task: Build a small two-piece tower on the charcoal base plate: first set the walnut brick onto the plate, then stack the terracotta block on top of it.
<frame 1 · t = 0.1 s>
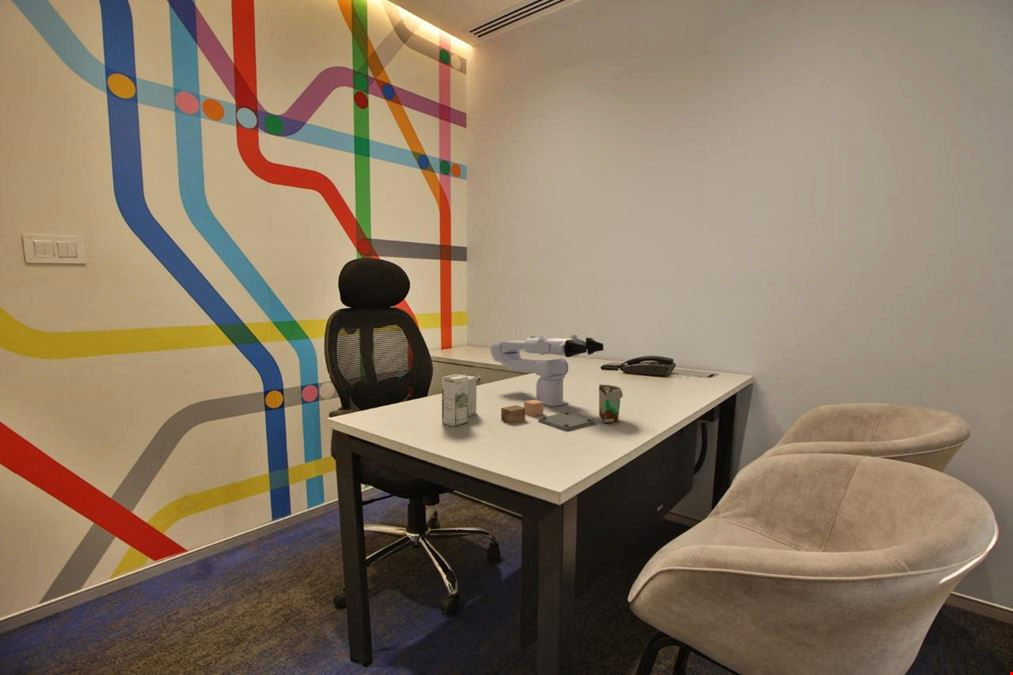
hand: (594, 348, 153), 22 cm above the table, tool horizontal, fingers open, 7 cm apart
base plate: (566, 422, 147), on the table
skincare box: (466, 415, 156), on the table
terracotta block: (533, 413, 158), on the table
walnut brick: (513, 420, 150), on the table
food container: (611, 420, 150), on the table
syrup box: (455, 423, 147), on the table
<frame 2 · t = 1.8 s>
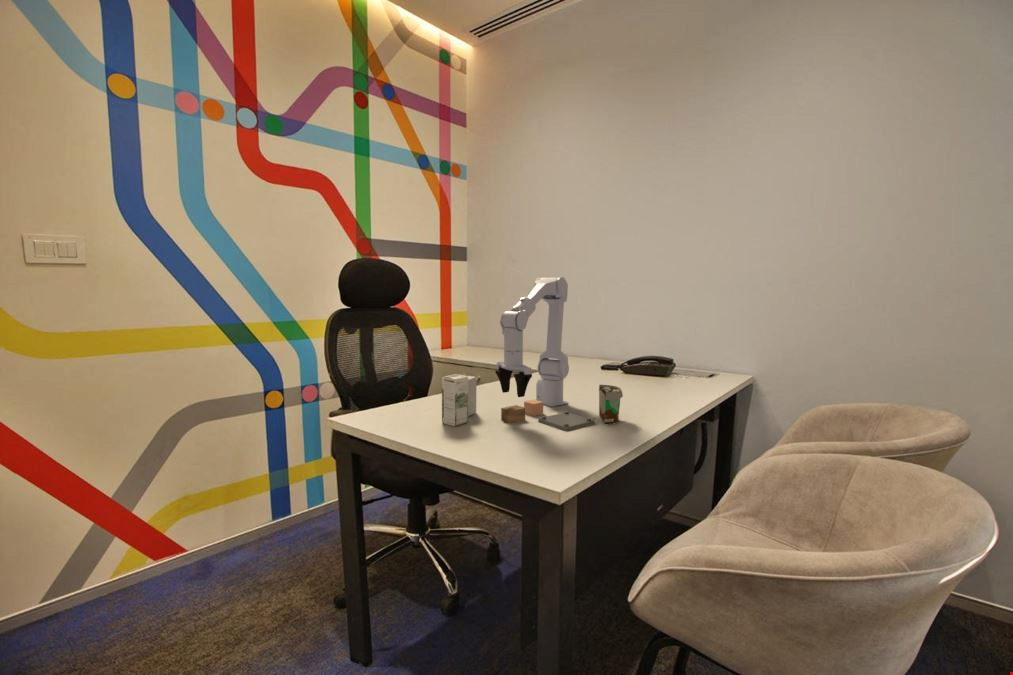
hand: (513, 394, 149), 8 cm above the table, tool pointing down, fingers open, 7 cm apart
nothing on the table moved.
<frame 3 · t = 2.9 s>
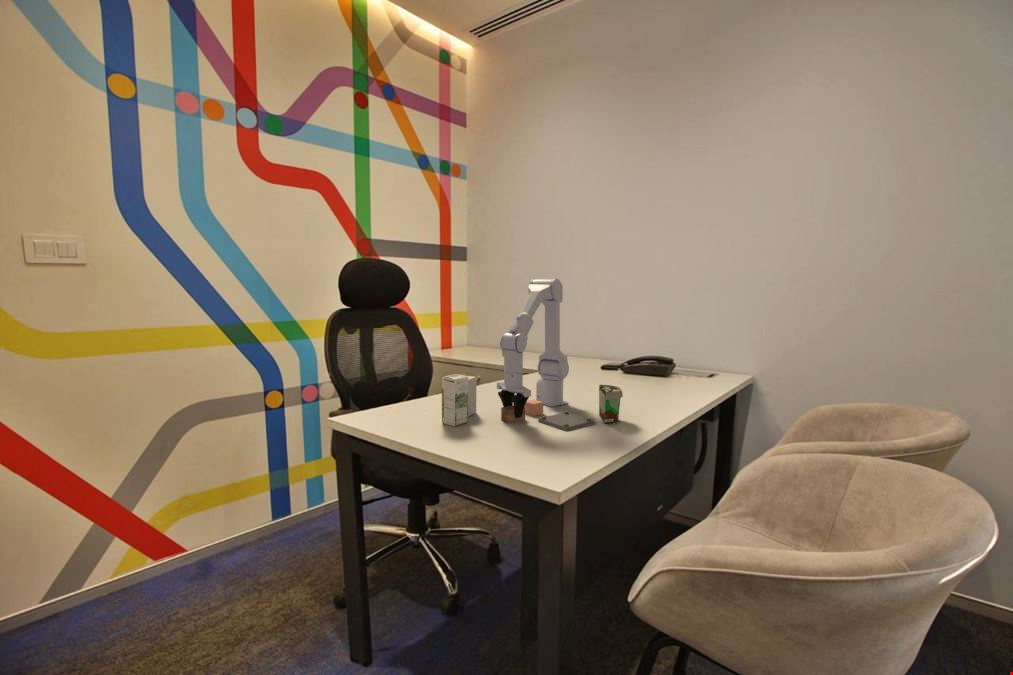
hand: (513, 415, 150), 1 cm above the table, tool pointing down, fingers closed on walnut brick, 4 cm apart
walnut brick: (513, 420, 150), on the table, touching gripper
everything else where it was.
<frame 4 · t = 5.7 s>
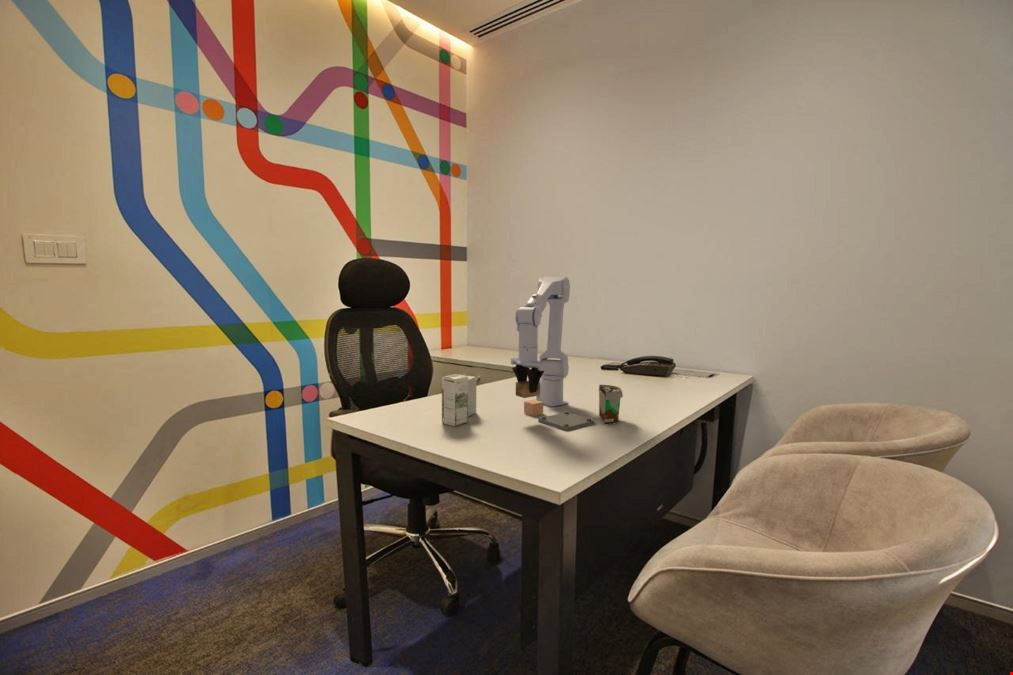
hand: (527, 390, 148), 9 cm above the table, tool pointing down, fingers closed on walnut brick, 4 cm apart
walnut brick: (527, 395, 149), point 8 cm above the table, touching gripper
everything else where it was.
when the fingers open (3 cm above the table, at t = 8.3 s): walnut brick stays where it is, resting on base plate.
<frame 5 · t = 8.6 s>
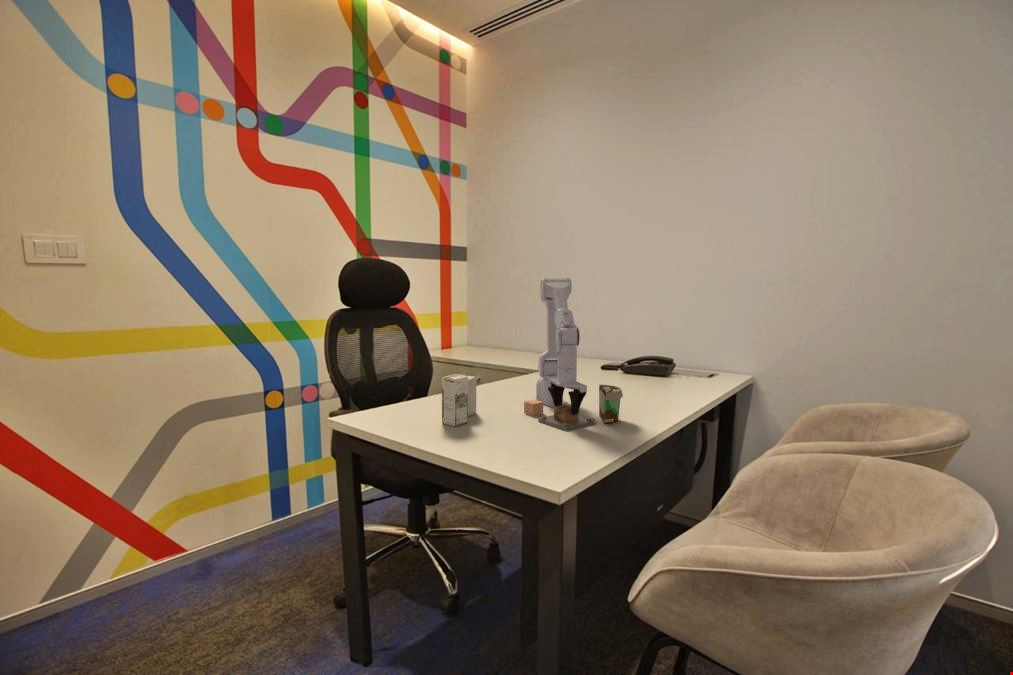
hand: (566, 411, 147), 3 cm above the table, tool pointing down, fingers open, 7 cm apart
walnut brick: (566, 419, 147), point 1 cm above the table, touching base plate
everything else where it was.
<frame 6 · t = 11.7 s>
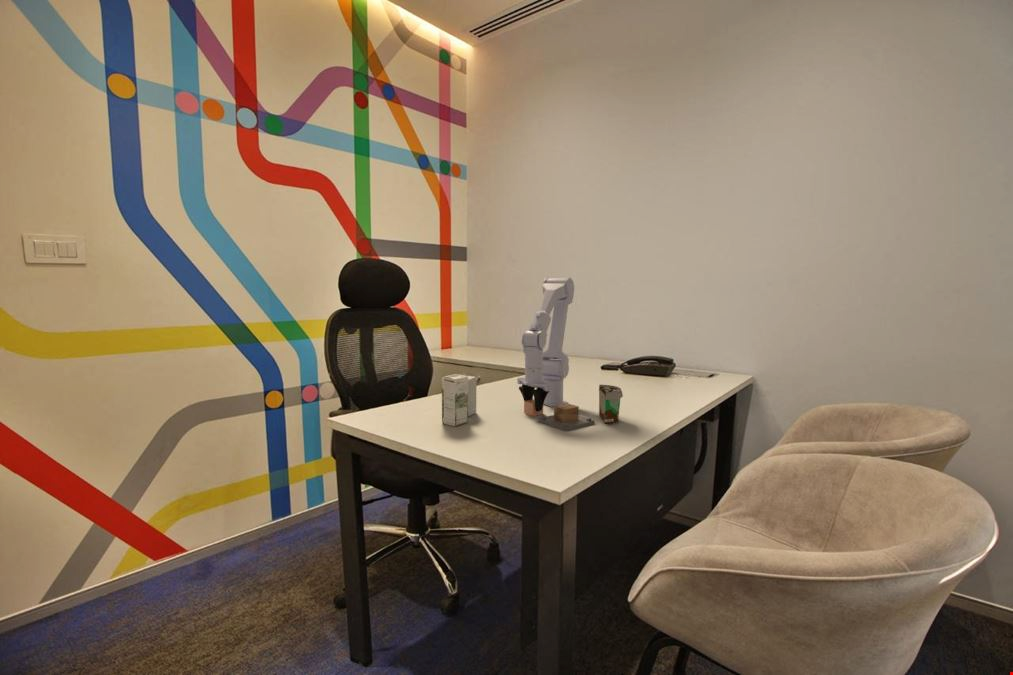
hand: (533, 409, 158), 1 cm above the table, tool pointing down, fingers closed on terracotta block, 4 cm apart
terracotta block: (533, 413, 158), on the table, touching gripper
everything else where it was.
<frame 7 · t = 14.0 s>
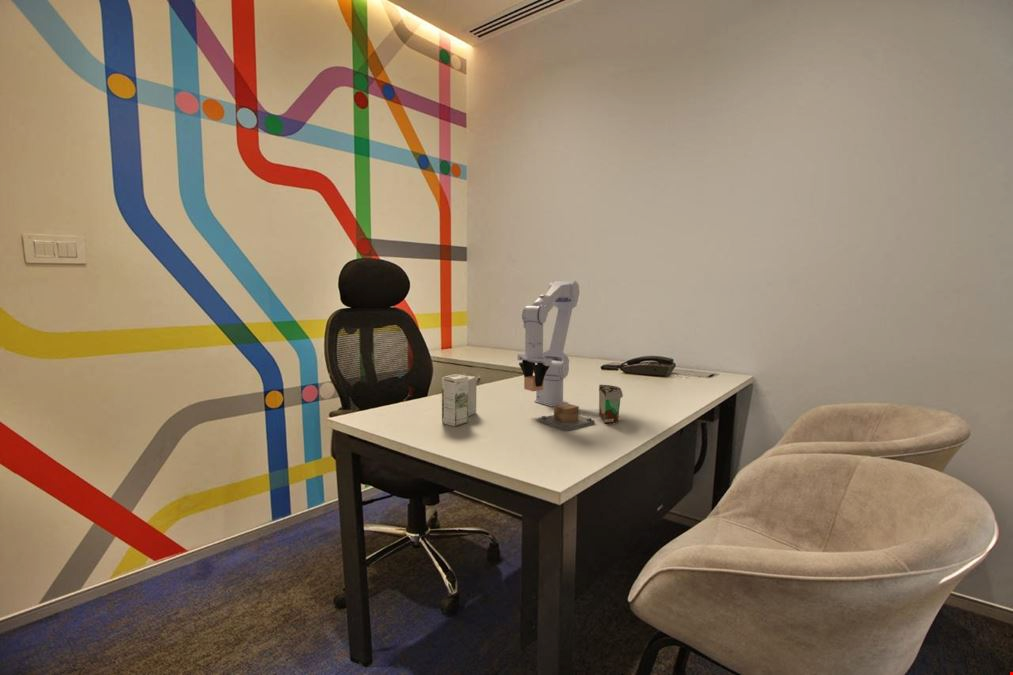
hand: (533, 384, 157), 9 cm above the table, tool pointing down, fingers closed on terracotta block, 4 cm apart
terracotta block: (533, 389, 157), point 8 cm above the table, touching gripper
everything else where it was.
when the fingers open (7 cm above the table, at t = 16.2 s): terracotta block stays where it is, resting on walnut brick.
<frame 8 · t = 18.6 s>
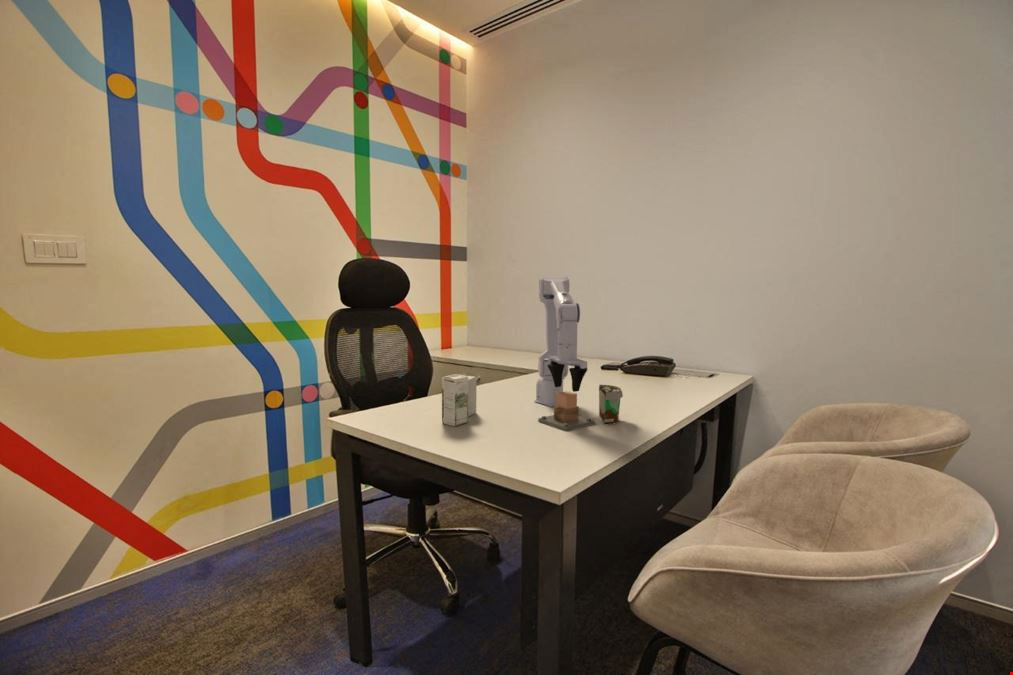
hand: (566, 388, 146), 10 cm above the table, tool pointing down, fingers open, 7 cm apart
terracotta block: (566, 406, 147), point 5 cm above the table, touching walnut brick
walnut brick: (566, 419, 147), point 1 cm above the table, touching base plate, terracotta block
everything else where it was.
at the end: walnut brick 0.1 cm off-centre on the base plate, point 1.0 cm above the base plate's base; terracotta block 0.1 cm off-centre on the base plate, point 5.0 cm above the base plate's base; terracotta block tilted 0° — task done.
